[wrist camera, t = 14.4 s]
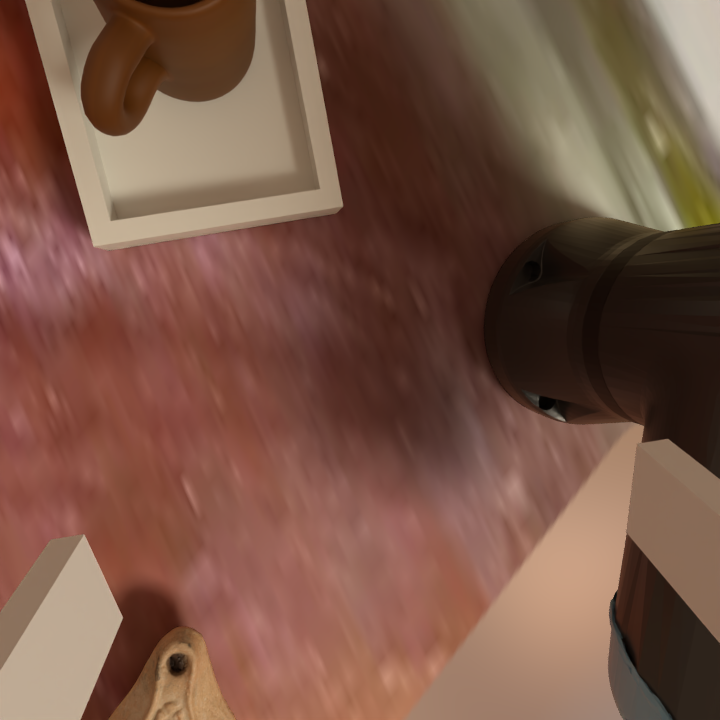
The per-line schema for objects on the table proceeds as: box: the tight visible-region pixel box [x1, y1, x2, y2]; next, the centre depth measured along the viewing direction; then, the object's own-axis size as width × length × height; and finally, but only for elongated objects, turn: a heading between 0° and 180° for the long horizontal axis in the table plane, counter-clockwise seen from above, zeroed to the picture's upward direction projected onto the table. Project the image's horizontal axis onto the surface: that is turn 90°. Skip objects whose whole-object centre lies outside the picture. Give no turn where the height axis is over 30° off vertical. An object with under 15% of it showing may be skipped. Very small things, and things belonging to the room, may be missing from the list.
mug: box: [81, 0, 256, 136], centre depth 23 cm, size 12×8×9 cm, turn 156°
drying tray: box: [25, 0, 343, 251], centre depth 28 cm, size 14×18×3 cm
